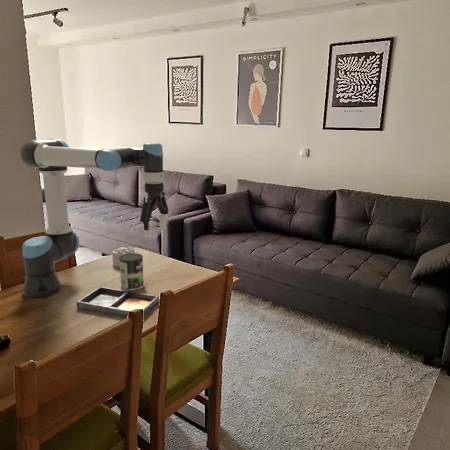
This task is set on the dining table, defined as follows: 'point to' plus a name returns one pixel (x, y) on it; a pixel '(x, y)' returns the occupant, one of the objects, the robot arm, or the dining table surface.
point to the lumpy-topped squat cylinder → (119, 252)
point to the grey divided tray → (117, 301)
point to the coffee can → (131, 271)
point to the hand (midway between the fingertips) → (155, 233)
